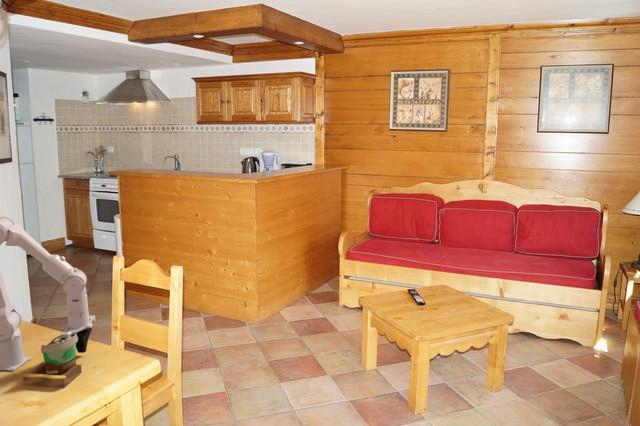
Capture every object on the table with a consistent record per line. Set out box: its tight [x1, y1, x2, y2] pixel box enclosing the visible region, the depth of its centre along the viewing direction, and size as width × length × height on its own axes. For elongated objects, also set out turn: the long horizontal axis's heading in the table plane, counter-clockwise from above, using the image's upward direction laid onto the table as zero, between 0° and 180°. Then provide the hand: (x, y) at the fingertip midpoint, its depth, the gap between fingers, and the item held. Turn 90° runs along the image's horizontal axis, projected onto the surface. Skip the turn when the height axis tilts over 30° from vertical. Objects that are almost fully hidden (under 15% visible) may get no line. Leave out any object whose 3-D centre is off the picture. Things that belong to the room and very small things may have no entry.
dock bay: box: [22, 361, 83, 389], centre depth 143 cm, size 12×8×3 cm
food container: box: [40, 327, 78, 376], centre depth 147 cm, size 12×6×10 cm, turn 173°
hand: (81, 351), depth 157 cm, fingers closed
